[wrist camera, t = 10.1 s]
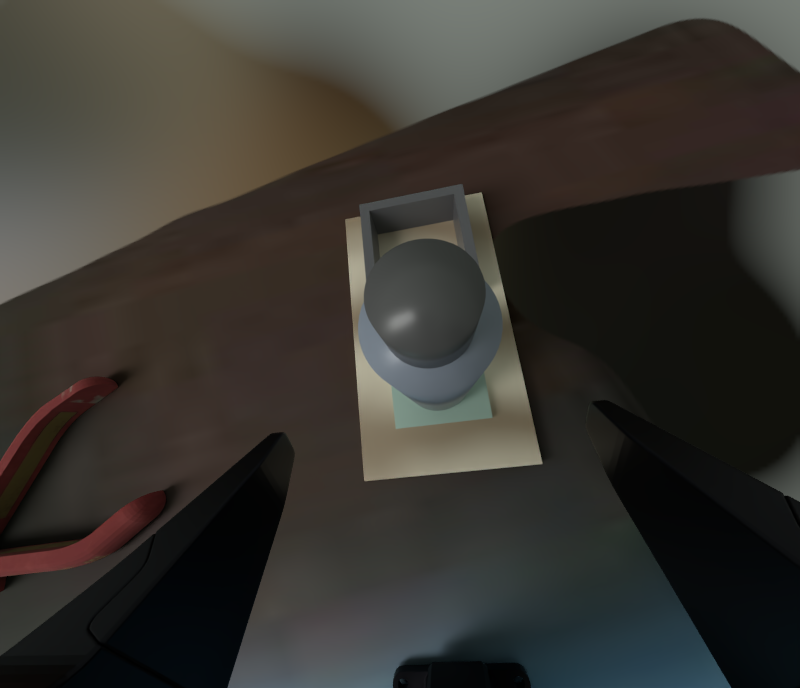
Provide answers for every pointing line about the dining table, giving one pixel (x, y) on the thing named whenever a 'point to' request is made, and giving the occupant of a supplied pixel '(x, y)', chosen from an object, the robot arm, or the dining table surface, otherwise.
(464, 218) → the gray square frame
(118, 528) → the pliers
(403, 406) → the pad
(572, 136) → the dining table surface
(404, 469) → the board
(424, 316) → the capped bottle
